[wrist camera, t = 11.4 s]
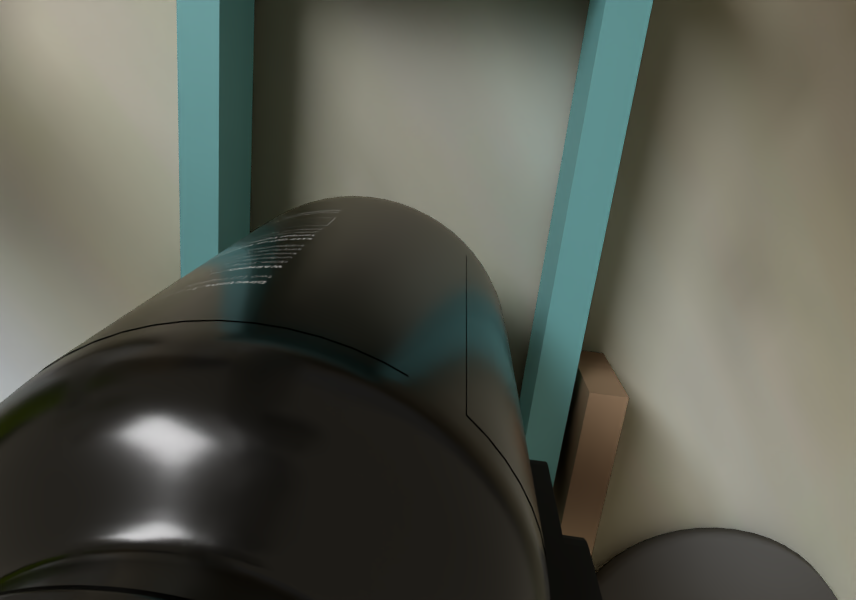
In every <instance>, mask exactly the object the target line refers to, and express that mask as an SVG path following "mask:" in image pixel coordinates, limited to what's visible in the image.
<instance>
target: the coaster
mask: <svg viewBox="0 0 856 600" xmlns="http://www.w3.org/2000/svg"><path fill="white" fill-rule="evenodd" d="M596 577H597V580H598V584H599V588H600V592H601V596H602V600H837V598H836V597H835V595H834V594H833V592H832V590H831V589H830V588H829V586H828V585H827V584H826V582H825V581H824V580H823V579H822V577H821V576H820V575H819V574H818V573H817V571H816V570H815V569H814V568H813V567H812V566H811V565H810V564H809V563H808V562H807V561H806V560H805V559H803V558H802V557H801V556H800V555H799V554H797V553H796V552H794V551H792V550H791V549H789V548H788V547H786V546H785V545H782V544H780V543H778V542H776V541H774V540H772V539H769V538H766V537H763V536H760V535H757V534H754V533H750V532H745V531H740V530H735V529H724V528H696V529H688V530H680V531H675V532H671V533H667V534H663V535H660V536H657V537H654V538H651V539H648V540H645V541H643V542H641V543H639V544H637V545H635V546H633V547H631V548H629V549H627V550H625V551H624V552H622V553H621V554H619V555H618V556H616V557H614V558H613V559H612V560H611V561H610V562H608V563H607V564H606V565H605V566H604V567H602V568H601V569H600V570H599V571H598V573H597V574H596Z"/></svg>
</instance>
